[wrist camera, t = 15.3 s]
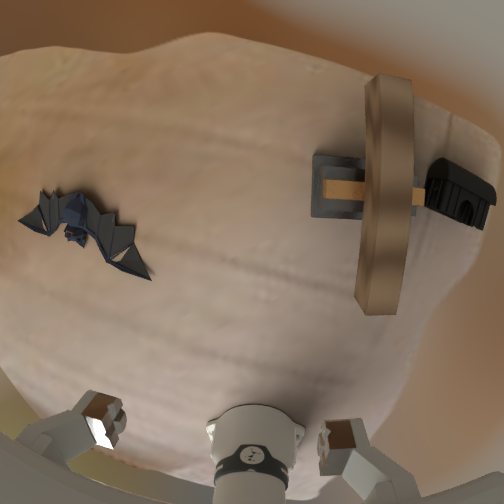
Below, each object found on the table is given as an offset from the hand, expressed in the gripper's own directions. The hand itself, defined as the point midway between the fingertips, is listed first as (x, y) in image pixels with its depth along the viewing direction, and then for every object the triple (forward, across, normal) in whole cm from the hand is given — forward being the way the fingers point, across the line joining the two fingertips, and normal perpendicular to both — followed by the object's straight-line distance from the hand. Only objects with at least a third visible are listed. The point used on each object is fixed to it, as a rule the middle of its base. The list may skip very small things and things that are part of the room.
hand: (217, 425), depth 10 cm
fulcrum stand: (+32, -13, -8) cm, 35 cm away
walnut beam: (+24, -13, -8) cm, 28 cm away
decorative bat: (+32, +28, -3) cm, 43 cm away
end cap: (+32, -28, -10) cm, 44 cm away
